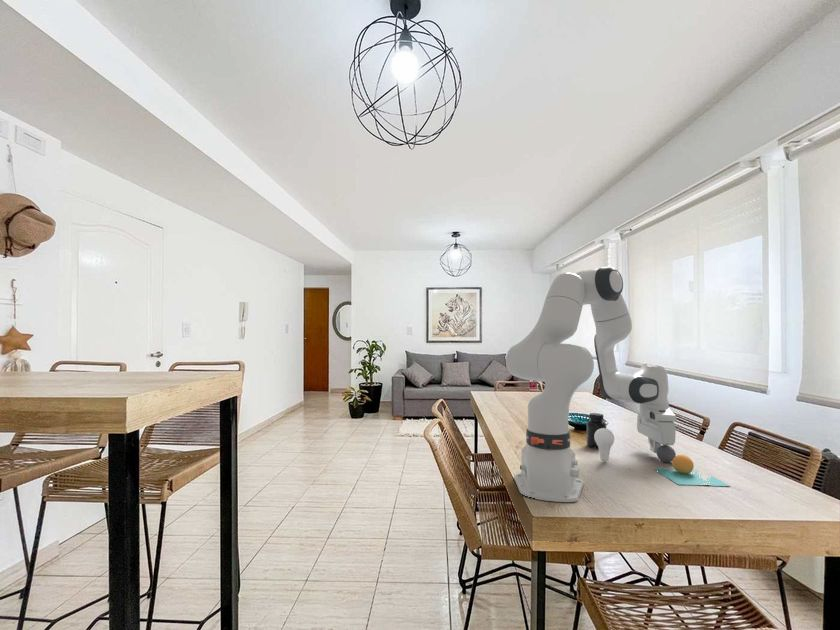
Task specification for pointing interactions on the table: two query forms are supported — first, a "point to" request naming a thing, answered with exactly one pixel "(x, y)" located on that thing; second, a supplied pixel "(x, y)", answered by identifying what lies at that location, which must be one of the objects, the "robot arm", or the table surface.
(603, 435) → the lightbulb
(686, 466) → the orange ball
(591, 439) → the supplement bottle
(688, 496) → the table surface
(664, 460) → the charcoal ball
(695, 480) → the teal mark
